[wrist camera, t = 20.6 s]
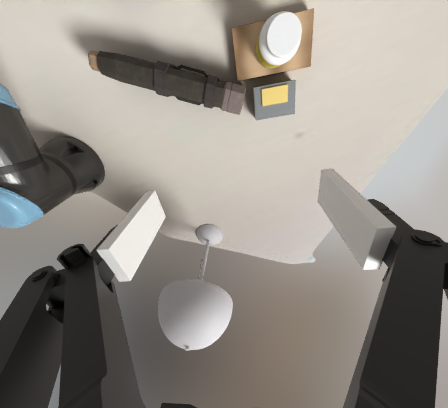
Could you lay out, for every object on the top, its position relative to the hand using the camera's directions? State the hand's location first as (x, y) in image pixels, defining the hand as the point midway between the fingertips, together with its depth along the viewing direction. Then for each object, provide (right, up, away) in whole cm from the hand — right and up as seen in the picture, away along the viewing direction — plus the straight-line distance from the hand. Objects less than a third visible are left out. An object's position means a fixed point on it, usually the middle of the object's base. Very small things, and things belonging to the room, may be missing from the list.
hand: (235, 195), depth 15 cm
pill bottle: (+8, +28, +20) cm, 35 cm away
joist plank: (+8, +30, +22) cm, 38 cm away
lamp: (-6, -11, +49) cm, 51 cm away
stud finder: (+10, +22, +27) cm, 36 cm away
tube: (-11, +26, +26) cm, 38 cm away
